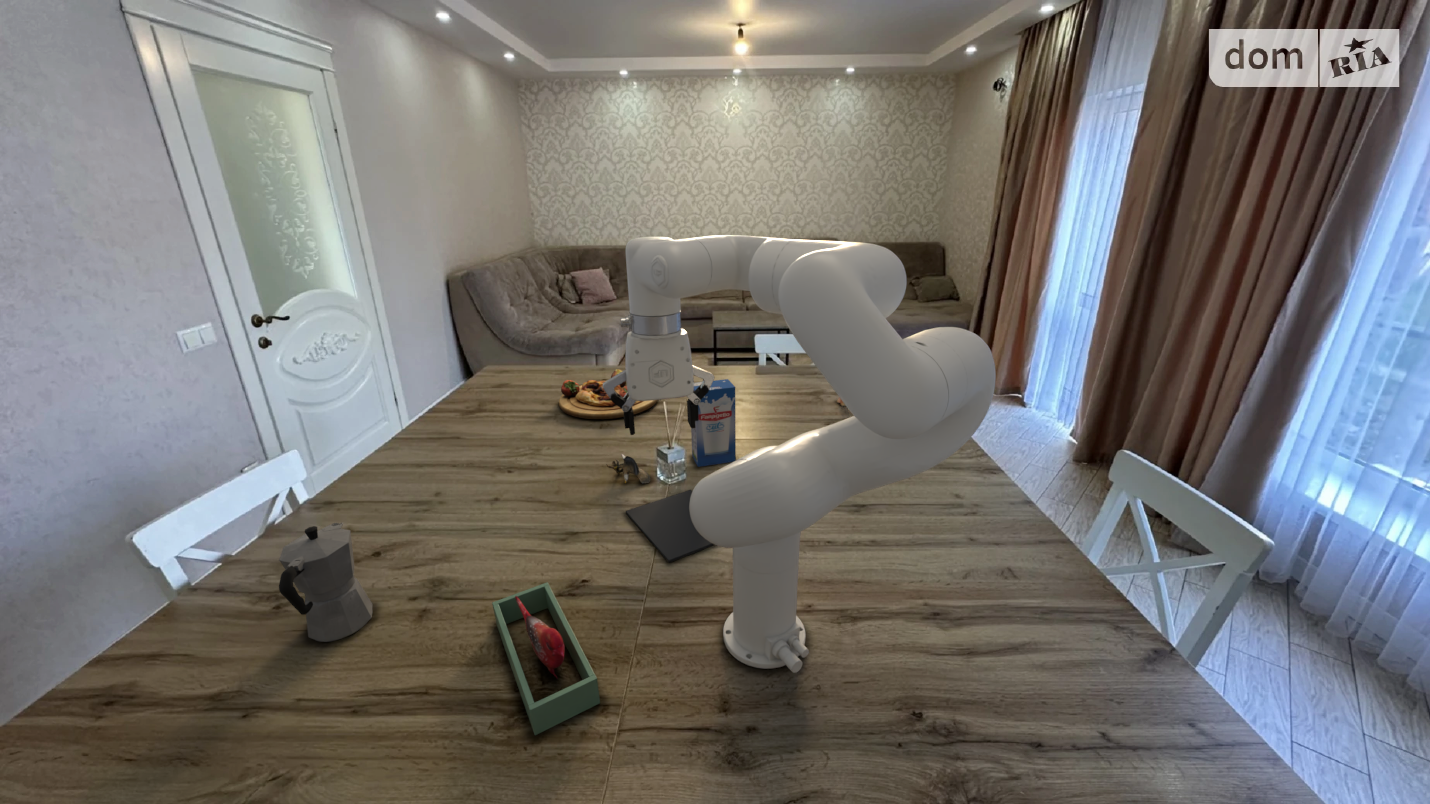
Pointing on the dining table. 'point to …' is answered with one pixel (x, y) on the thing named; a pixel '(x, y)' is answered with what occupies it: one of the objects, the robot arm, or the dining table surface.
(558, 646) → the decorative bird figurine
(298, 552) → the coffeepot
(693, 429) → the milk carton
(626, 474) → the eagle figurine
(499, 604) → the frame
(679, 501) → the mat
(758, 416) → the dining table surface
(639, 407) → the wooden plate
